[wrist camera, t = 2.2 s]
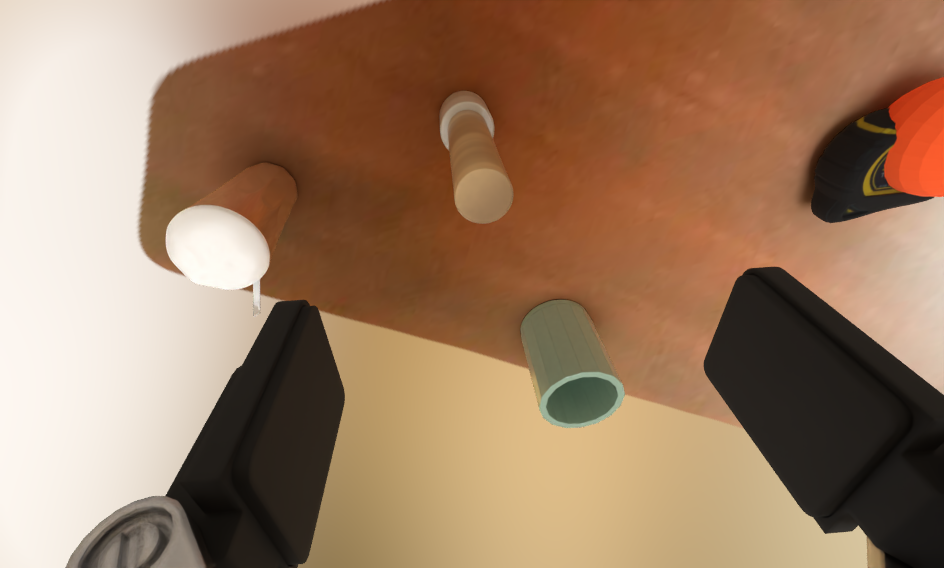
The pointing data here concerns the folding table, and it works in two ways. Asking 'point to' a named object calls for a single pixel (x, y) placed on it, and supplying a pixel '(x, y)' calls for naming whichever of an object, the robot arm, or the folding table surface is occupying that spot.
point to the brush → (474, 159)
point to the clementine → (918, 142)
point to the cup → (569, 365)
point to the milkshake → (233, 230)
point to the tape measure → (858, 172)
